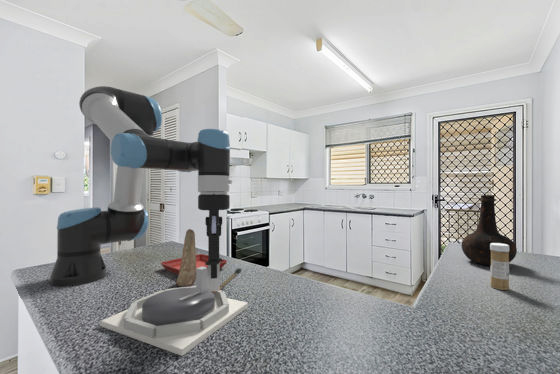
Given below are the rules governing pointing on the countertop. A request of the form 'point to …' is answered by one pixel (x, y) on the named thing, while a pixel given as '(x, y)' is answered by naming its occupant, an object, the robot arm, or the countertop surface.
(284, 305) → the countertop surface
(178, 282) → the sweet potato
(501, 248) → the sprinkles bottle
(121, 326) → the panel
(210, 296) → the dial
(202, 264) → the plant saucer
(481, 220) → the dark brown vase
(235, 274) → the tomahawk
